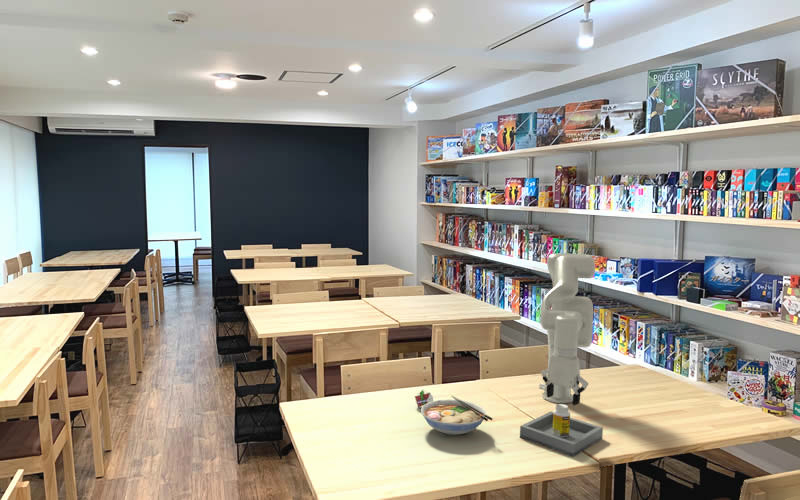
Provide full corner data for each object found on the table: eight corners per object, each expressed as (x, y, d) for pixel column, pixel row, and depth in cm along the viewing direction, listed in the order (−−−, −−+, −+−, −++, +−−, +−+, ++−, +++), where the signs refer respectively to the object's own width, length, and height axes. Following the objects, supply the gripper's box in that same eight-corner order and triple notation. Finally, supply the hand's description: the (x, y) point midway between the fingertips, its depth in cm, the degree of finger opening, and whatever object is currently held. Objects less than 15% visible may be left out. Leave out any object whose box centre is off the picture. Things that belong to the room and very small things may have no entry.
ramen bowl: (408, 422, 210) (408, 400, 210) (463, 414, 220) (464, 393, 219) (439, 450, 188) (440, 426, 187) (500, 440, 197) (501, 417, 196)
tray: (519, 437, 199) (520, 426, 199) (550, 422, 214) (550, 411, 213) (573, 456, 185) (573, 444, 185) (602, 438, 199) (602, 427, 199)
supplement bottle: (561, 439, 196) (563, 410, 195) (549, 433, 200) (550, 405, 199) (572, 435, 199) (574, 406, 198) (559, 430, 203) (561, 402, 203)
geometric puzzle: (408, 403, 224) (420, 388, 222) (414, 397, 230) (426, 383, 228) (421, 416, 222) (434, 402, 220) (427, 410, 229) (439, 396, 226)
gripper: (536, 348, 200) (534, 396, 202) (583, 360, 188) (580, 410, 190) (548, 344, 205) (546, 390, 208) (594, 355, 193) (591, 404, 196)
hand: (562, 400), depth 199 cm, fingers open, 9 cm apart
